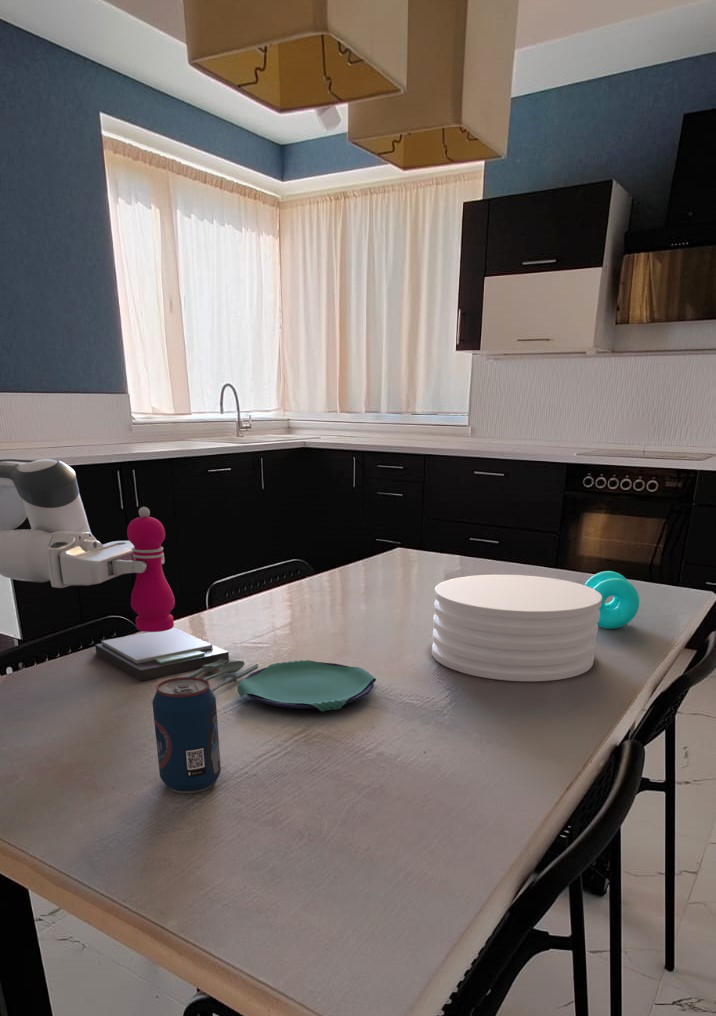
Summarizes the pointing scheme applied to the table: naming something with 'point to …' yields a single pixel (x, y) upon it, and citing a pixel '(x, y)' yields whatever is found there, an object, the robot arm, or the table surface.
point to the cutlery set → (297, 683)
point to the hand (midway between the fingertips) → (153, 563)
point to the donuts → (615, 599)
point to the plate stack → (515, 627)
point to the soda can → (186, 734)
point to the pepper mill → (150, 575)
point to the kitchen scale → (159, 653)
